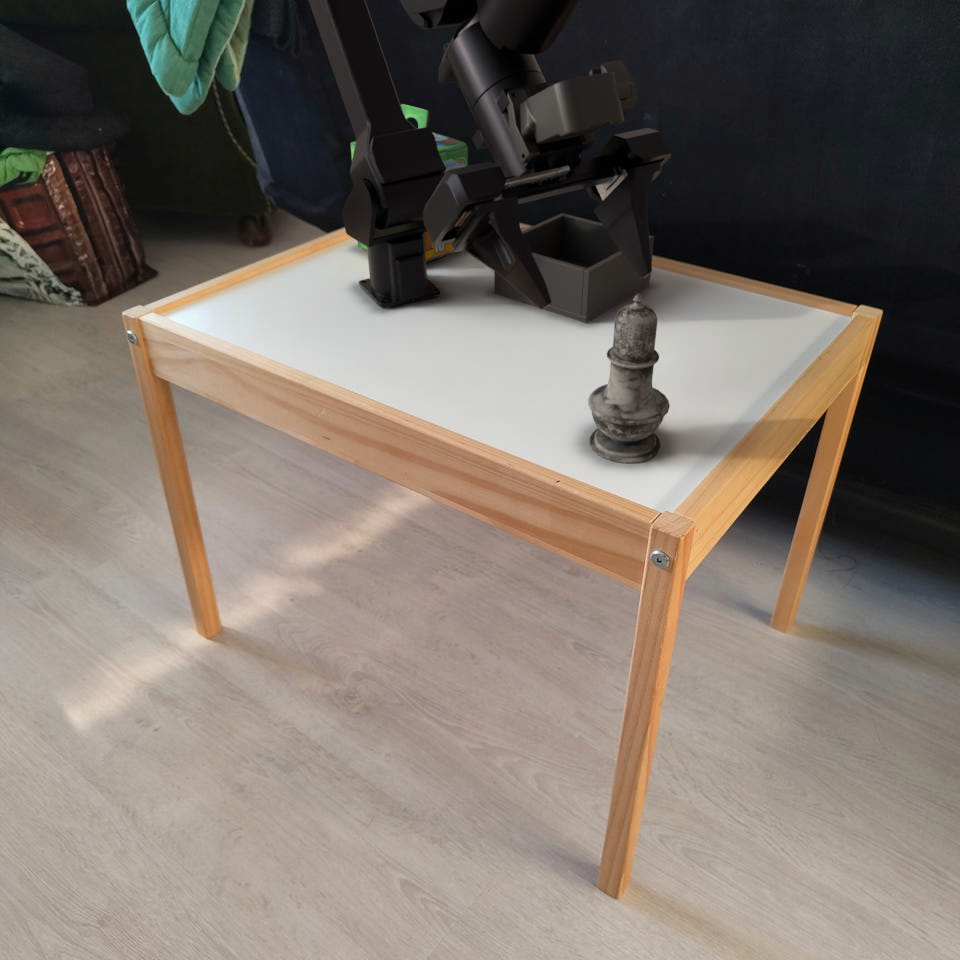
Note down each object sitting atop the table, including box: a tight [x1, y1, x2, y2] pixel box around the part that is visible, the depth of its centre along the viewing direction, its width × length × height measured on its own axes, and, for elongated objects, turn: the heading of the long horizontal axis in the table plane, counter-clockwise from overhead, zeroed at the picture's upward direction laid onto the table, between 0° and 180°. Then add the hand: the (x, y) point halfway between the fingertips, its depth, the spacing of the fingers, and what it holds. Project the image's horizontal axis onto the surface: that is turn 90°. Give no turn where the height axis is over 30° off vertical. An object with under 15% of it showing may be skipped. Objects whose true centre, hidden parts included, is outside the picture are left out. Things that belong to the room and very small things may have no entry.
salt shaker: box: [587, 293, 671, 464], centre depth 64 cm, size 6×6×12 cm
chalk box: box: [350, 103, 469, 263], centre depth 96 cm, size 9×9×15 cm
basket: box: [493, 212, 655, 324], centre depth 89 cm, size 11×11×5 cm
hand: (598, 290), depth 64 cm, fingers open, 9 cm apart
